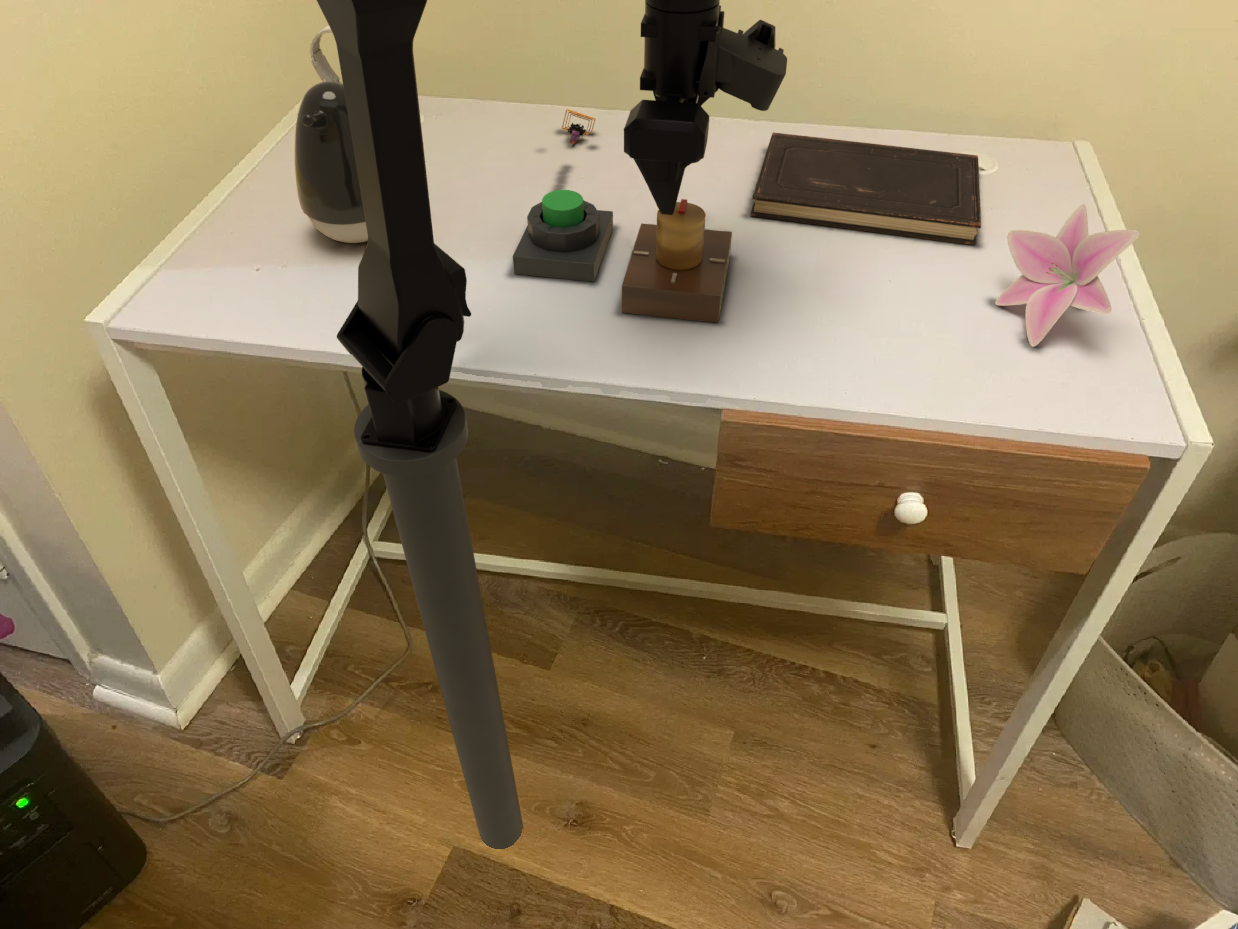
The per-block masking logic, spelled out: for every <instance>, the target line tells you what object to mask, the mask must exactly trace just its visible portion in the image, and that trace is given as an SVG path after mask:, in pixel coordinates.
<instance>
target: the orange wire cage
mask: <svg viewBox="0 0 1238 929" xmlns="http://www.w3.org/2000/svg"><path fill="white" fill-rule="evenodd" d="M567 112H568V113H567ZM571 117H576V118H578V119H582V120H585V121H588V123H587V127H586V129H585V126H584V125H583V124H581V123H576V124H574V122H572V123H571V124H570V125H569V123H570V121H571ZM596 119H597V118H596V117H593V116H590V115H587V114H584V113H581V112H578V111H575V110H571V109H568V108H566V109H565V114H564V117H563V122H562V126H561V129H562V130H565V131H567V132H568V133H569V134H570V143H571V144H572V145H575V144H576V143H578V141H579V138H581V137H582V138H583V137H584V135H586V136H588V135H590V136H592V134H593V130H594V126H595V123H596ZM565 120H566V121H565ZM590 121H591V122H590ZM590 130H591V131H590Z"/></svg>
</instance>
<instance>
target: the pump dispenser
mask: <svg viewBox="0 0 1238 929" xmlns="http://www.w3.org/2000/svg"><path fill="white" fill-rule="evenodd" d="M341 83H342V82H341ZM341 83H337V82H331V81H327V82H323V81H321V82H318V83H316V84H314V85H312V86H311V87H310V88H309V89H308V90H307V91H306V92H305V93H304V95H303V97H302V99H301V102H300V105H299V108H298V112H297V116H296V123H295V129H294V130H295V132H294V174H295V175H294V176H295V183H296V185H295V186H296V191H297V193H296V194H297V198H298V202H299V206H300V209H301V211H302V213H304V215H306V216H307V217H308V219H309V221H310V222H311V223H312V225H313V226H314V227H315V228H316V229H317V230H318V231H319V232H320V233H321V234H323V235H324V236H326V237H328V238H329V239H331V240H333V241H336V242H340V243H347V244H357V243H365V242H368V233H367V227H366V221H365V215H364V209H363V203H362V197H361V191H360V184H359V178H358V172H357V166H356V160H355V154H354V148H353V142H352V136H351V130H350V124H349V117H348V111H347V105H346V99H345V93H344V87H343V84H341Z"/></svg>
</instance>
